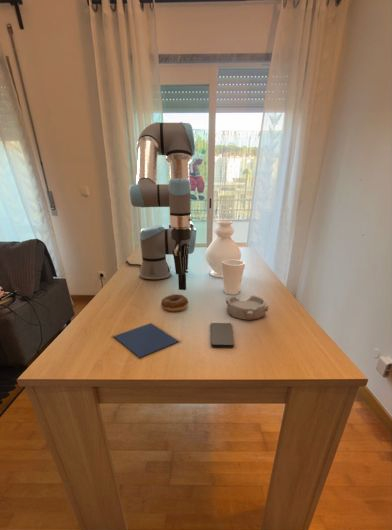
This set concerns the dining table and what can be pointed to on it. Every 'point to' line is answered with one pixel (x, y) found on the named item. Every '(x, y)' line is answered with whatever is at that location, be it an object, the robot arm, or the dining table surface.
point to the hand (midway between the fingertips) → (182, 289)
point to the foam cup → (232, 275)
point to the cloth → (145, 340)
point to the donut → (174, 302)
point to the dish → (247, 307)
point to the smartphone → (221, 335)
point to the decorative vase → (222, 248)
